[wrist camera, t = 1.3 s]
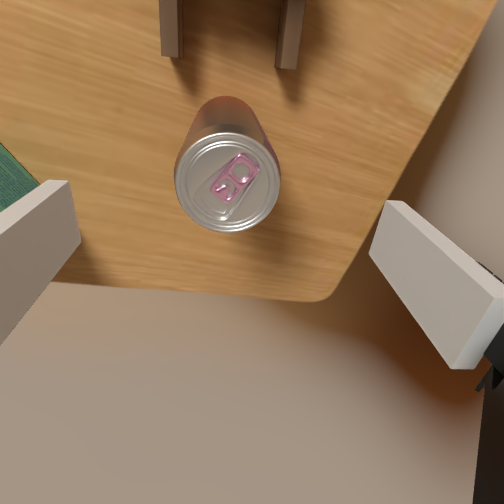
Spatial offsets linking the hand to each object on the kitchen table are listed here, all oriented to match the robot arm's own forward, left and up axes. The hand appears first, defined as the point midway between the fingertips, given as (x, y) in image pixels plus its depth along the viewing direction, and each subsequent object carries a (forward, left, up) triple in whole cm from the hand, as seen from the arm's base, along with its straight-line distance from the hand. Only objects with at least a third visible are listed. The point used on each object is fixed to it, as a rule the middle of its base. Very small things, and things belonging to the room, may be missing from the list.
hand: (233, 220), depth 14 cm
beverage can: (0, 0, -19) cm, 19 cm away
